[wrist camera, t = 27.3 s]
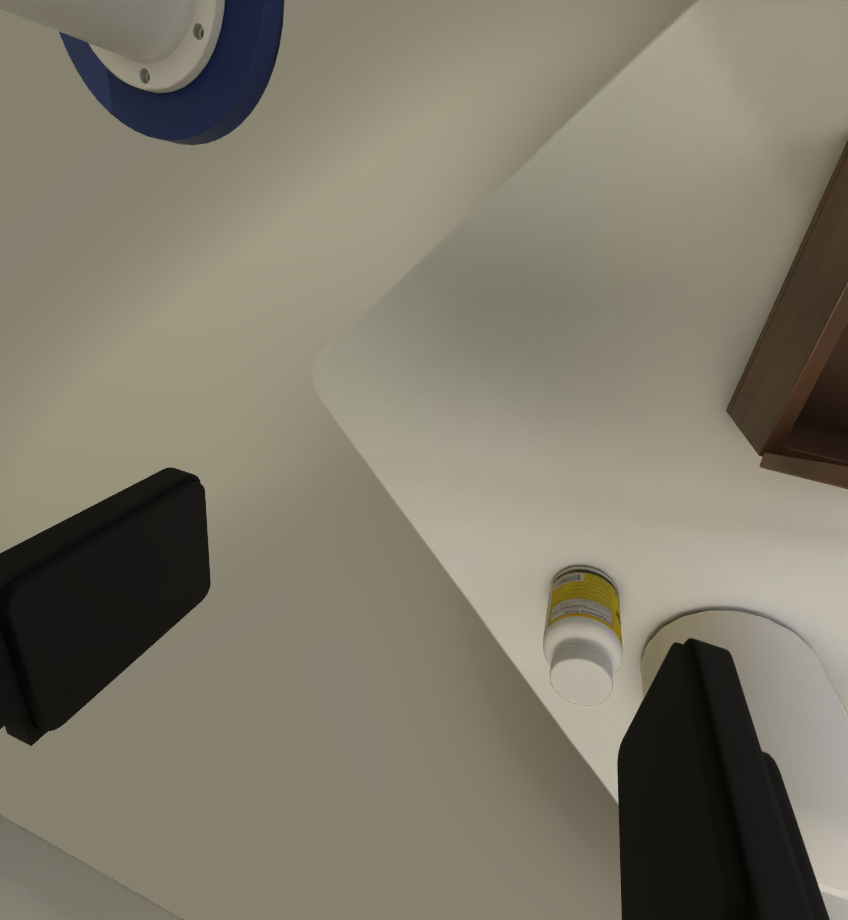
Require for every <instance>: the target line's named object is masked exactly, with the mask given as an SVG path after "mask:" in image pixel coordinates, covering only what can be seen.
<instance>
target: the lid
mask: <svg viewBox="0 0 848 920" xmlns="http://www.w3.org/2000/svg"><path fill="white" fill-rule="evenodd" d="M760 467H761V468H764V469H768V470H772V471H776V472H780V473H784V474H788V475H793V476H797V477H801V478H805V479H809V480H813V481H817V482H821V483H825V484H829V485H833V486H837V487H841V488H845V489H848V466H842V465H837V464H831V463H825V462H819V461H813V460H807V459H801V458H796V457H790V456H784V455H778V454H772V453H764V455H763V458H762V461H761V463H760Z"/></svg>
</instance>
